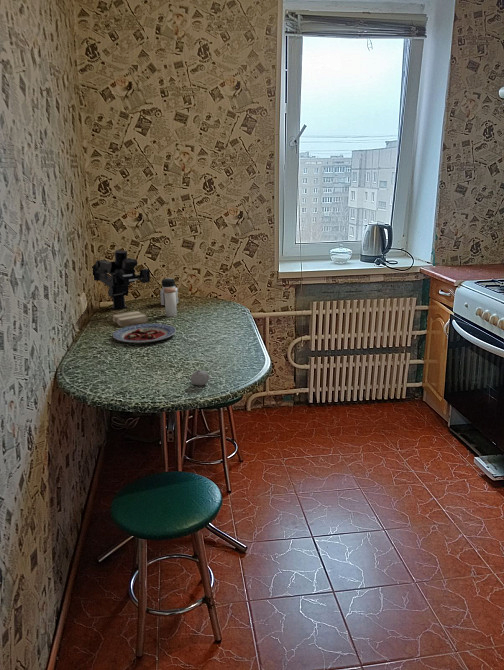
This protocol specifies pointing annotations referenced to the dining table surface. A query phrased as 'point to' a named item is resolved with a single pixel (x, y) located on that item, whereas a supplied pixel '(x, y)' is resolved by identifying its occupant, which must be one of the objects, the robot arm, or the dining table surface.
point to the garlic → (199, 377)
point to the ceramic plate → (144, 333)
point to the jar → (170, 301)
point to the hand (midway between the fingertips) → (138, 282)
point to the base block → (129, 318)
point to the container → (166, 284)
